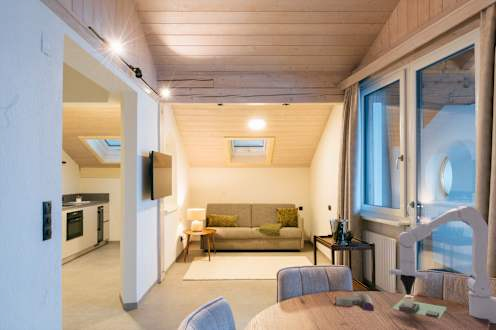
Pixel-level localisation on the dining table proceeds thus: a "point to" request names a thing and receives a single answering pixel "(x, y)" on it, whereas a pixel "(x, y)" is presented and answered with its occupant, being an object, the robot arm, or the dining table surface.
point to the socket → (416, 307)
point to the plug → (408, 301)
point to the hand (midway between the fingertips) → (408, 294)
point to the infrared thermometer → (356, 301)
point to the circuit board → (425, 309)
